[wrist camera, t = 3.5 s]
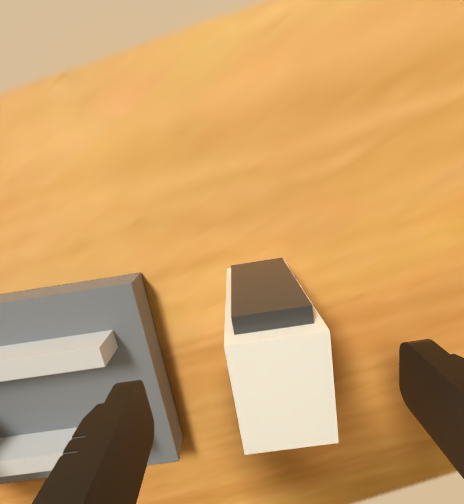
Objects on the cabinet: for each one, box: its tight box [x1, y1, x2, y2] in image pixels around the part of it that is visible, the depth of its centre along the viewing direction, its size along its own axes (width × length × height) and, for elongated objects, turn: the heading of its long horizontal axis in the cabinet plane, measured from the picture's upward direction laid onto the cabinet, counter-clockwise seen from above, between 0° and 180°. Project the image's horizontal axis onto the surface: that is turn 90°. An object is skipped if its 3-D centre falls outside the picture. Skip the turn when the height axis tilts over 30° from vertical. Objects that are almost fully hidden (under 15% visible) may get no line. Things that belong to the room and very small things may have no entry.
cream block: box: [224, 258, 339, 455], centre depth 12 cm, size 5×3×7 cm, turn 9°
